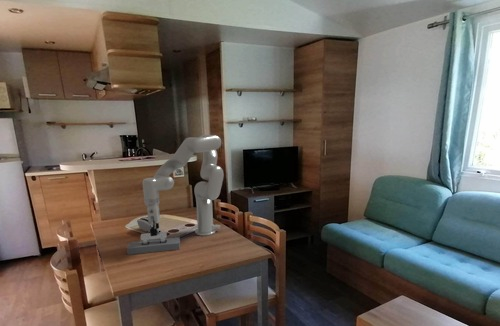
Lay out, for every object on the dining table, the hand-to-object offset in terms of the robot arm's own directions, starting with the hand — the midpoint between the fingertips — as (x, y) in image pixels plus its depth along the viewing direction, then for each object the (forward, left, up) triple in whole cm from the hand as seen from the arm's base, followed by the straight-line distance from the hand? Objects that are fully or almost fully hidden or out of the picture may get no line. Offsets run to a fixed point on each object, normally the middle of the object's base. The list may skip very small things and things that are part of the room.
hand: (155, 232), depth 148 cm
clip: (+1, 0, -9) cm, 9 cm away
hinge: (+7, -27, -10) cm, 30 cm away
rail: (+1, 0, -9) cm, 9 cm away
